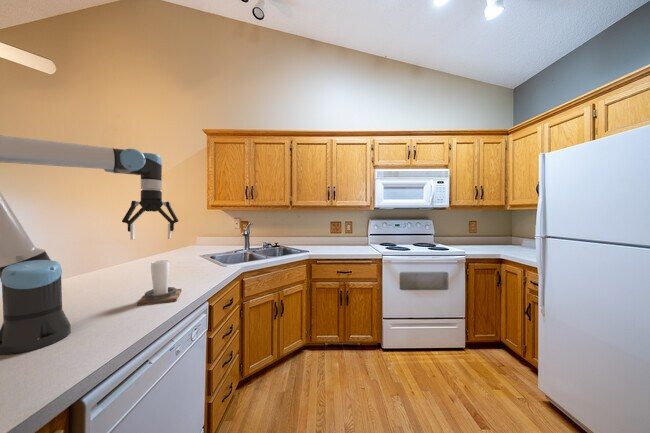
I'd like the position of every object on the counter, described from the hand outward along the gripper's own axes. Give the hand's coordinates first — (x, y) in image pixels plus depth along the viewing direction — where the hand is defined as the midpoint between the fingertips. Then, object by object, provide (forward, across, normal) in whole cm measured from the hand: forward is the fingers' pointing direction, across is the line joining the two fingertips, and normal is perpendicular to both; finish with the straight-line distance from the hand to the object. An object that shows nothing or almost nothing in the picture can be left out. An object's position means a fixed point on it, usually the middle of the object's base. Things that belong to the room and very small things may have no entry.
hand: (151, 239), depth 110 cm
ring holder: (+26, -3, -1) cm, 27 cm away
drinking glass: (+26, -3, -1) cm, 26 cm away
